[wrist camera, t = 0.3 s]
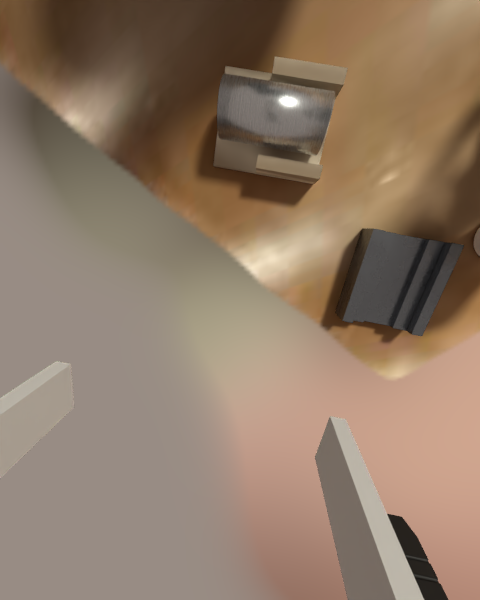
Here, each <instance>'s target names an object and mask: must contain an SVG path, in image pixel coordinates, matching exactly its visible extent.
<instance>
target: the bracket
mask: <svg viewBox="0 0 480 600" xmlns="http://www.w3.org/2000/svg"><path fill="white" fill-rule="evenodd" d="M347 69H348V68H344V67H338V66H332V65H326V64H319V63H313V62H307V61H301V60H294V59H288V58H282V57H276V56H275V60H274V66H273V71H272V73H267V72H261V71H254V70H248V69H242V68H236V67H230V66H225V73H226V74H232V75H238V76H244V77H250V78H256V79H263V80H269V81H275V82H281V83H287V84H293V85H299V86H306V87H312V88H318V89H324V90H330V91H335V99H336V97H337V95H338V93H339V92H340V90H341V88H342V87H343V85H344V81H345V77H346V73H347ZM334 102H335V100H334ZM333 106H334V105H333ZM329 122H330V121H329ZM328 126H329V125H328ZM327 130H328V128H327ZM326 134H327V132H326ZM325 138H326V135H325ZM325 138H324V140H323V143H322V146H321V148H320V150H319V152H318V154H317V155H316V156H314V155H309V154H303V153H297V152H291V151H285V150H280V149H274V148H268V147H262V146H256V145H251V144H245V143H239V142H233V141H227V140H222V139H220V138H219V135H218V132H217V140H216V148H215V156H214V164H213V166H214V167H219V168H225V169H231V170H236V171H242V172H248V173H253V174H259V175H265V176H270V177H276V178H282V179H287V180H293V181H299V182H304V183H310V184H314V183H315V182H317V181H318V180H319V179H320V175H321V171H322V168H323V165H319V163H320V159H321V154H322V150H323V146H324V142H325Z"/></svg>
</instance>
